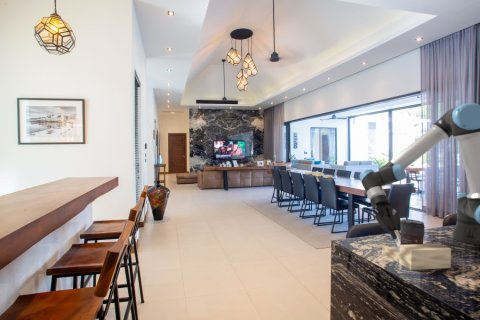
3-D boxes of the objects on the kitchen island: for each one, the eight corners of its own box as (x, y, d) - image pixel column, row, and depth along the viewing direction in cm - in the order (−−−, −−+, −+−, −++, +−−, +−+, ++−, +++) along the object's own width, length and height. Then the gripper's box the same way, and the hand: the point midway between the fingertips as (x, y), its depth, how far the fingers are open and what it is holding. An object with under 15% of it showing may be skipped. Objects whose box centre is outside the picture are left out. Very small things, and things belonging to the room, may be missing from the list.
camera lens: (427, 263, 107) (428, 224, 106) (404, 261, 108) (405, 222, 108) (418, 255, 115) (419, 219, 114) (396, 254, 116) (397, 218, 116)
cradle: (380, 253, 117) (381, 236, 117) (415, 251, 119) (415, 235, 119) (411, 269, 100) (411, 250, 100) (450, 267, 103) (451, 248, 102)
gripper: (387, 202, 135) (410, 249, 120) (361, 203, 133) (382, 250, 118) (395, 193, 130) (421, 241, 114) (369, 193, 128) (391, 242, 112)
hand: (401, 246), depth 116 cm, fingers closed
